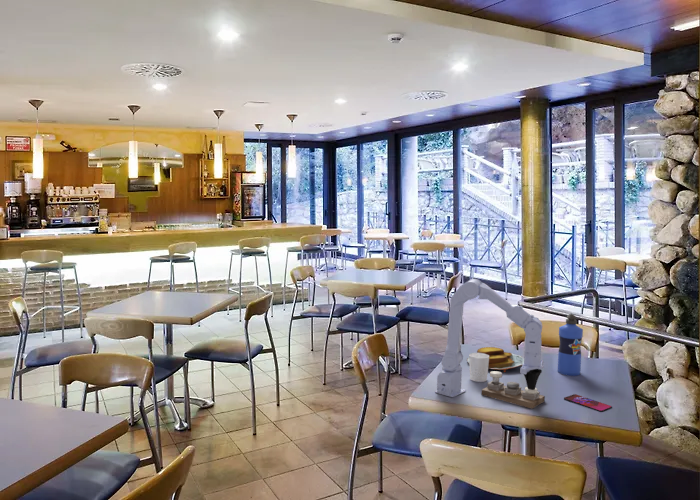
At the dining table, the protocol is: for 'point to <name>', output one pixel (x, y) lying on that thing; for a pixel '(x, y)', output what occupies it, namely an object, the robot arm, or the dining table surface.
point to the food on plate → (501, 358)
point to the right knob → (531, 391)
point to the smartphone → (587, 402)
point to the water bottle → (570, 347)
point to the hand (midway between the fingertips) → (531, 389)
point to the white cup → (478, 366)
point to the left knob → (496, 375)
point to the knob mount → (512, 394)
